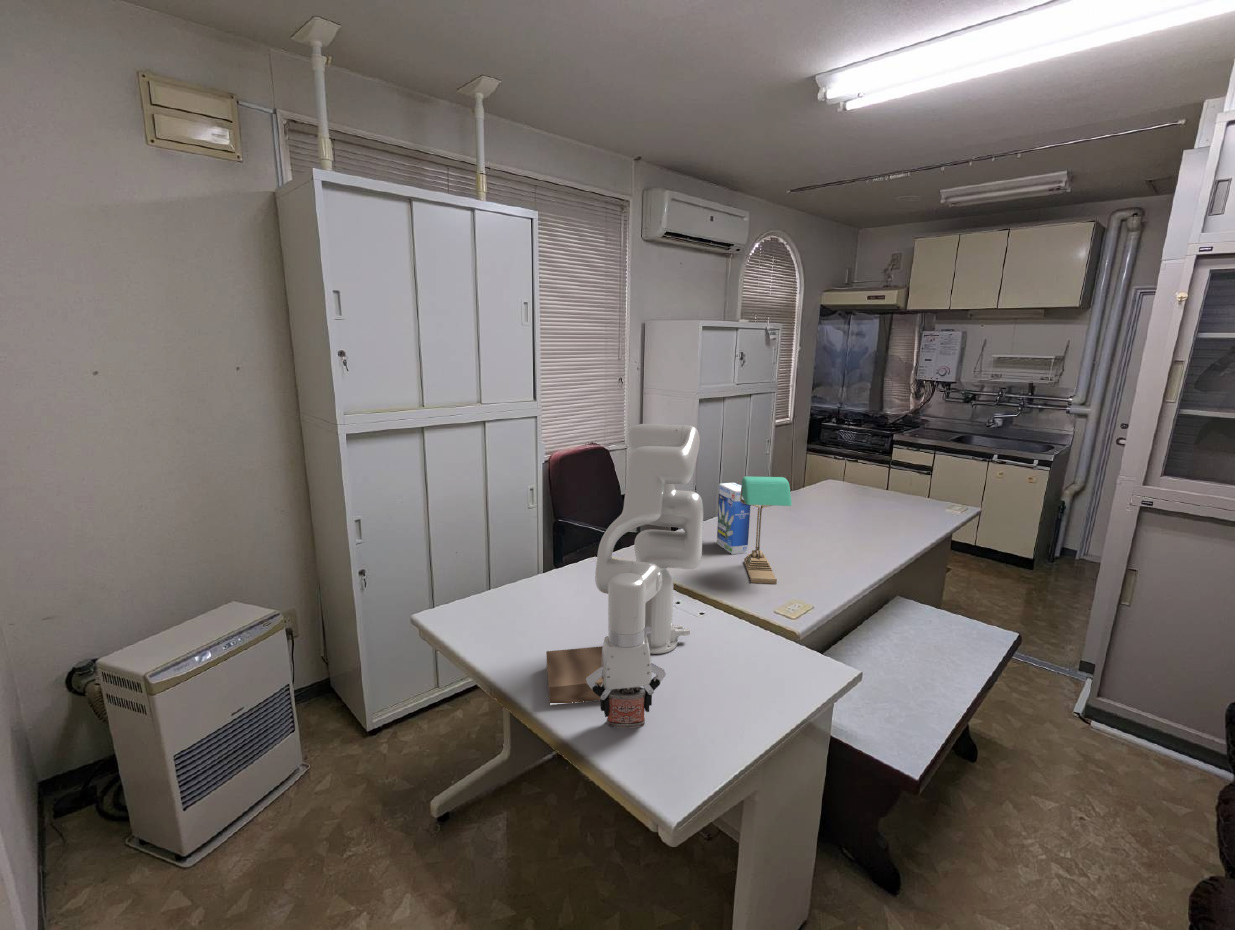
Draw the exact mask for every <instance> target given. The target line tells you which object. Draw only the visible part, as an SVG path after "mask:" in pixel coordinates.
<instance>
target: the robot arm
mask: <svg viewBox="0 0 1235 930" xmlns="http://www.w3.org/2000/svg"><path fill="white" fill-rule="evenodd" d="M700 440H701V439H700V433H699V431H698V429H697V428H696V427H695V426H693V425H690V424H689V425H688V424H666V423H640V424H636V425H633V426H632V427H630V429H629V431H628V443H629V445H630V450H632V451H631V453H630V455H629V458H628V465H627V466H628V468H627V475H626V482H625V483H626V484H625V493H624V500H623V509H622V512H621V514H620V515H619V516H618V517H617V518H616V519H614V520H613V522H612V523H611V524H610V525H609V526H608V527H607V529H606V531H604V534H603V536H602V537H601V540H600V542H599V545H598V550H597V556H596V563H595V564H596V565H595V571H594V572H595V573H594V574H595V576H594V580H595V586H596V588H597V589H598V591H599V592H601V593H602V594H607V599H608V600H607V601H608V602H607V603H608V604H607V607H608V608H607V612H608V614H607V617H608V621H607V626H608V629H607V632H608V635H607V636H606V637H604V639H603V644H602V646H603V649H602V658H601V668H599V669H598V670H596V671H595V672H594V673H592V674H591V675H589V676H588V677H587V678H586V682H587V684H588V685H589V686H590V688H591V689H592V690H593V692H594V693H596V694H597V695H598V696H599V697H600V707H599V708H600V710H601V712H604V717H605V718H608V716H609V699H608V694H609V693H610V692H611V690H612V689H621V688H631V687H642V688H644V689H645V696H644V712H645V713H650V706H652V705H653V700H652V699H653V697H652V696H653V694H654V693H655V690H656V689H657V688H658V687H659V686H660V685H661V682H662V681H663V680H664V679H665V677H666V676H667V673H666V671H665V670H664V669H663V668H662V667H660V666H658V665H656V664H654V663H652V662H651V661H652V660H651V654H653V655H656V654H666V653H669V652H672V651H673V650H675V649H676V648H677V646H678V642H679V639H678V638H679V637H682V636H683V637H686V636H690V634H691V632H690V631H691V630H690V628H689V627H683V625H682V624H677V625H674V624H673V620H674V619H673V616H674V615H673V613H674V580H673V577H672V575H671V574H670V571H669V570H668V569H677V570H678V569H679V570H695V569H697V568H698V567H699V566H700V564H701V562H702V555H703V534H704V533H703V531H704V530H703V529H704V527H703V526H704V504H703V499H702V497H701V495H700V494H699V493H697V492H696V491H691V490H680V489H679V490H678V489H676V488H675V486H676V485H686V484H688V483H689V482H690V481H691V479H692V478H693V475H694V471H695V467H696V463H697V459H698V458H697V457H698V455H699V452H700V451H699V450H700V446H701V445H700V443H701V442H700ZM645 525H652V526H656V527H657V526H658V527H670V528H671V527H672V528H680V529H682V530H683V531H677V530H675V531H674V530H666V529H644V530H642V531H640V532H639V533H638V534H637V535H636V537H635V539H634V546H633V547H634V548H633V549H634V555H635V560H636V561H635V560H626V559H614V558H613V552H614V548H615V545H617V542H618V541H619V539H620V538H621V537H622V536H623V535H625V534H626V533H628V532H630V531H631V530H634V529H636V528H639V527H642V526H645ZM652 673H654V674H655V676H653V678H652ZM599 678H603V683H602V685H601V686H599V685H598V684H597V683H596V682H595V681H597V680H598V679H599Z"/></svg>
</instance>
